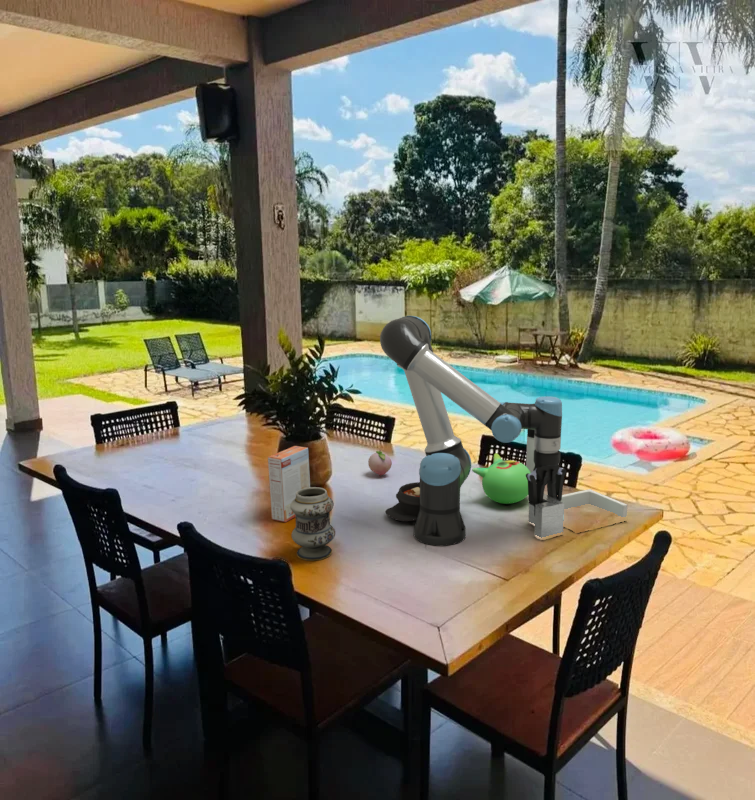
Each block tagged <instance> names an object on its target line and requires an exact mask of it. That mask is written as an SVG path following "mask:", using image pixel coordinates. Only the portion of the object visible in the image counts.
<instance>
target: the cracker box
mask: <svg viewBox="0 0 755 800" xmlns="http://www.w3.org/2000/svg"><path fill="white" fill-rule="evenodd" d="M309 456H310V455H309V447H306V446H299V445H293V446H291V447H288V448H287V449H283V450H281V451H279V452H277V453H274V454H272V455H269V456H267V467H268V468H267V469H268V470H267V471H268V481H269V482H268V483H269V498H270V511H271V512H270V513H271V520H274V521H277V522H282V523H287V522H288V521H289V522H290V521H291V520H293V519H294V518H296V517H295V514H294V513H293V512H292V510H291V507H290V506H291V503H292V501H293V500H294V499H295V498H296V492H297V491H298V490H301V489H304V488H309V487H311V478H310V477H311V476H310V459H309V458H310V457H309Z"/></svg>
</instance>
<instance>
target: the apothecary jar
mask: <svg viewBox="0 0 755 800" xmlns="http://www.w3.org/2000/svg"><path fill="white" fill-rule="evenodd" d="M334 506H335V503H334V500H333V499H332V498H331V497H330V496H329V495H328V491H327V490H326V489H325V488H323V487H316V486H310V487H309V488H304V489H301V490H298V491H297V492H296V498H295V499H294V500H293V501H292V503H291V506H290V507H291V510H292V512H293V513H294V514H295V517H294V518H295V527H294V529H293V530H292V532H291V539H292V541H293V542H294V543H295V544H297V545H298V546H300V547H299V548H298V549H297V551H296V557H298V558H299V559H301V560H304V561H308V562H310V561H321V560H324V559H327V558H329V557H330V556H331V555H332V554H333V549H332V548H331V547H330V546H328V544H330V543H331V542H332V541H333V540H334V539H335V537H336V529H335V528H334V526H333V525H332V524H331V518H330V517H331V516H330V512H332V510H333V509H334Z"/></svg>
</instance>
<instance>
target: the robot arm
mask: <svg viewBox="0 0 755 800" xmlns="http://www.w3.org/2000/svg"><path fill="white" fill-rule="evenodd" d="M431 340H432V331H431V328H430V326H429V324H428V323H427V322H426V321H425V320H424V319H422V318H421V317H419V316H416V315H405V316H402V317H399V318H396V319H393V320H391V321H389V322H387V323H386V324H385V325H384V327H383V328H382V330H381V332H380V335H379V344H380V347H381V349H382V351H383V352H384V354H385V355H386V356H387V357H388V358H389V359H391V361H393V363H396V365H397V367H398V368H401V369H402V370H403V371H404V374H405V378H406V381H407V384H408V386H409V390H410V393H411V396H412V400H413V402H414V405H415V409H416V412H417V415H418V418H419V421H420V425H421V427H422V430H423V433H424V436H425V437H424V438H425V439H426V446H425V448H424V454H425V457H423V458H422V459H421V461H420V463H419V469H418V474H419V482H420V511H419V514H418V517H417V520H416V521H415V524H414V527H413V536H414V539H416V540H417V541H419V542H420V543H422V544H423V543H424V544H426V545H431V546H440V545H443V546H451V545H450V544H452V545H455V544H454V543H456V544H459V543H461V542H462V540H463V539H464V538H465V539H466V537H467V536H466V534H467V531H466V530H467V529H466V525H465V522H464V518H463V515H462V513H461V488H462V486H463V484H464V482H465V481H466V480H467V479H468V477H469V475H470V473H471V471H472V458H471V456H470V454H469V452H468V450H466V448H464V446H463V442H462V440H461V438H460V437H458V436H456V435H455V434H454V430H453V427H452V424H451V421H450V417H449V414H448V412H447V408H446V405H445V402H444V398H443V395H444V396H445V397H446V398H448V399H449V400H450V401H452V402H453V403H454V404H456V405H457V406H458V407H460V408H461V409H463V410H464V411H465V412H466V413H468V414H469V415H470V416H472V417H473V418H474V419H476V420H477V421H479V422H480V423H481V424H482V425H484V427H486V428H488V429H489V430H490V431H491V433H492V436H493V437H494V439H496V440H497V441H499V442H501V443H504V444H505V443H508V444H509V443H511V442H513V441H514V440H516V439H518V437H519V436H520V435H521V433H522V430H528V429H530V430H531V429H534V430H535V434H534V448H535V450H534V463H535V467H534V469H533V472H532V473H530V474H529V473H527V474H526V478H527V480H528V496H527V497H528V505H529V504H530V505H532V506H534V516H535V505H536V504H540V503H542V502H543V496H544V494H545V489H546V490H547V495H548V496H550V497H552V498H554V499H556V500H559V501H561V499H562V495H563V491H564V489H563V488H564V482H565V480H564V479H565V475H566V474H567V469H566V468H563V467H561V466H560V463H561V452H560V450H561V441H562V425H563V423H562V422H563V401H562V400H561V399H560V398H558V397H555V396H538V397H537V398H536V399H535V401H534V403H525V402H524V403H520V402H519V403H518V402H508V401H505V402H502V401H501V402H500V401H498V400H497V399H496V398H494V397H493V396H492V395H490V394H489V393H488V392H486V390H484V389H482V388H481V387H480V386H478V385H477V384H475V383H474V382H473V381H472V380H470V379H469V378H467V377H466V376H465V375H464V374H462V373H461V372H460V371H459V370H457V369H456V368H455V367H453V366H452V365H451V364H449V363H448V362H447V361H445V360H444V359H442V357H440V356H439V355H437V354H435V352H434V350H433V347H432V344H431ZM536 476H537V477H536ZM465 536H466V537H465ZM465 539H464V540H465ZM464 540H463V541H464ZM460 541H461V542H460ZM458 542H459V543H458Z"/></svg>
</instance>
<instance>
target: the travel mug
mask: <svg viewBox="0 0 755 800" xmlns="http://www.w3.org/2000/svg"><path fill="white" fill-rule="evenodd" d="M526 430H527V432H526V433H527V435H526V458H525V459H526V461H525V462H526V463H525V464H526V465H525V466H526V467H527V468H528V469H529V470H530V472H531V473H532V472H533V469H534V467H535V463H534V450H535V448H534V434H535V430H534V429H531V430H530V429H526ZM536 477H537V476H536Z"/></svg>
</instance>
